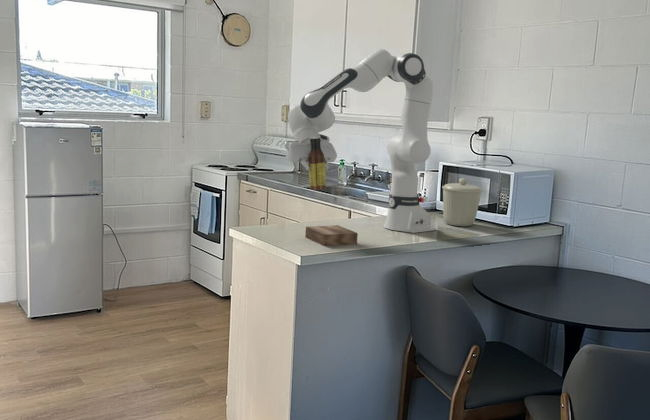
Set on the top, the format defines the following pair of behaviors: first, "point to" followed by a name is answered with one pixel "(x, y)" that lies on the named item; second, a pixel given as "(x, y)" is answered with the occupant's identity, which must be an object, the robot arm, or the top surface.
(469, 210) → the canister
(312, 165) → the sauce bottle
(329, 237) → the block
